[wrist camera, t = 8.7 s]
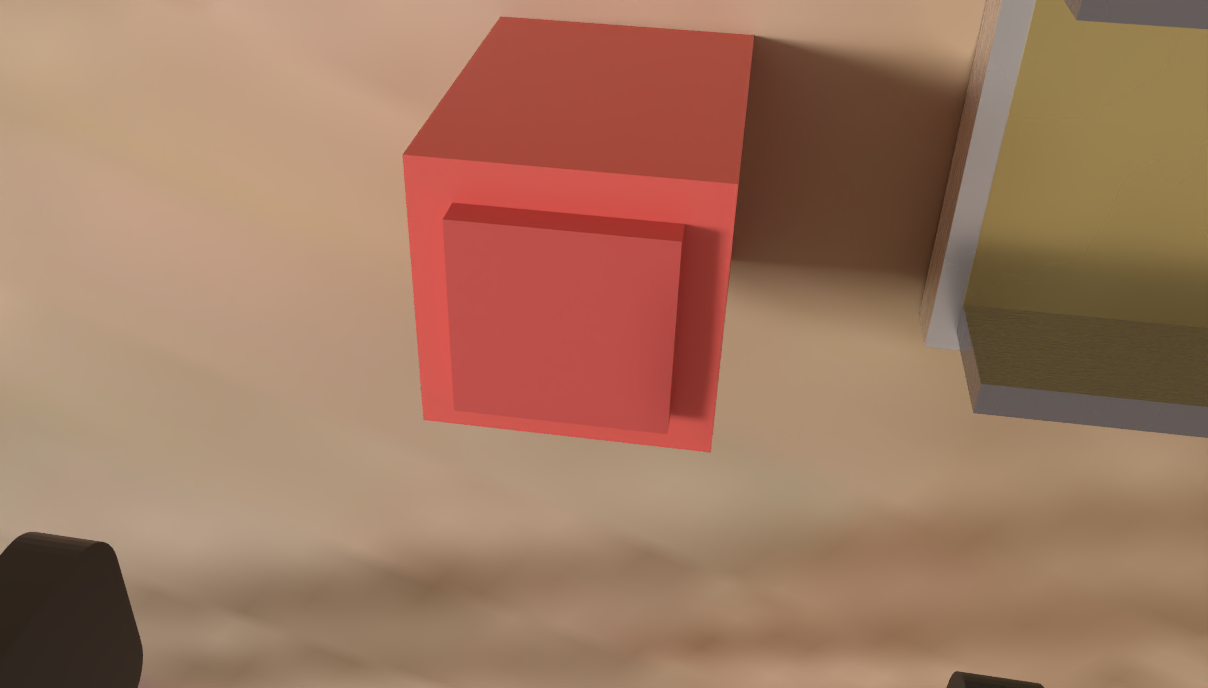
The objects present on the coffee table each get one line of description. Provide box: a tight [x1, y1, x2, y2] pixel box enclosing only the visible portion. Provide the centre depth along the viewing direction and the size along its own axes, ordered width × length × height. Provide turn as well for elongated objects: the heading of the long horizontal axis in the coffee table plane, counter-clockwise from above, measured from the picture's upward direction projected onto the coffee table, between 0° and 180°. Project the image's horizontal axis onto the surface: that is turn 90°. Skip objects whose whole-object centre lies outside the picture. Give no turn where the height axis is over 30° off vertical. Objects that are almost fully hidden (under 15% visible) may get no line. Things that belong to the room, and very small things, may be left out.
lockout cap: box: [403, 17, 754, 452], centre depth 18 cm, size 4×4×6 cm
